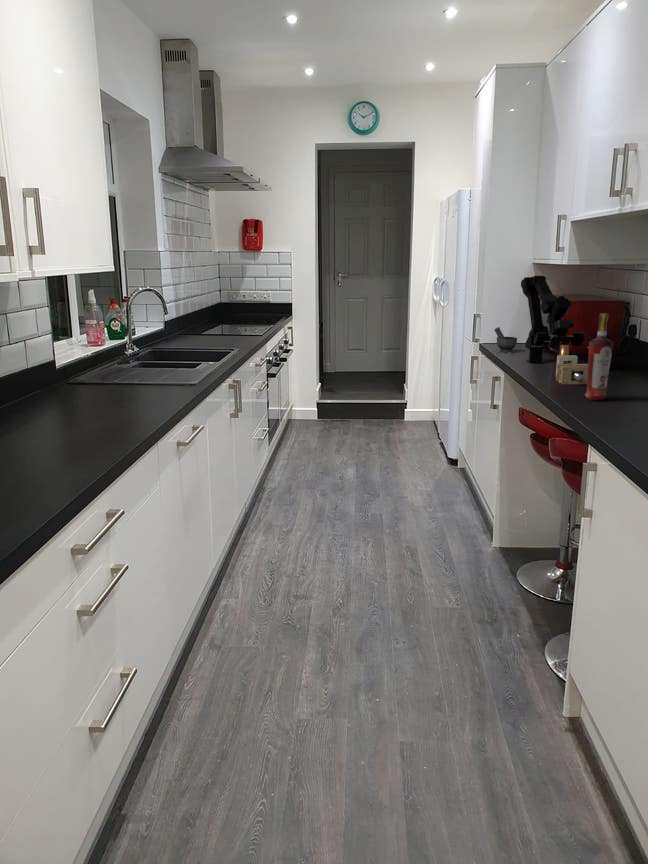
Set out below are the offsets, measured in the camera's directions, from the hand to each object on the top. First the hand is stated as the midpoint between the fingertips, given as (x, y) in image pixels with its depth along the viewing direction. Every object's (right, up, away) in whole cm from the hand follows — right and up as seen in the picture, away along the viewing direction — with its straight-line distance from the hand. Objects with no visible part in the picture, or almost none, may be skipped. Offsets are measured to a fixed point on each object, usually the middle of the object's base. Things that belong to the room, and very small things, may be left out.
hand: (562, 356), depth 263 cm
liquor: (-4, -19, -42) cm, 46 cm away
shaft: (0, -10, -9) cm, 14 cm away
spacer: (0, -9, -4) cm, 10 cm away
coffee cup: (+18, -5, +11) cm, 22 cm away
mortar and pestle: (-6, +9, +61) cm, 62 cm away
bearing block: (-1, -11, -14) cm, 18 cm away
